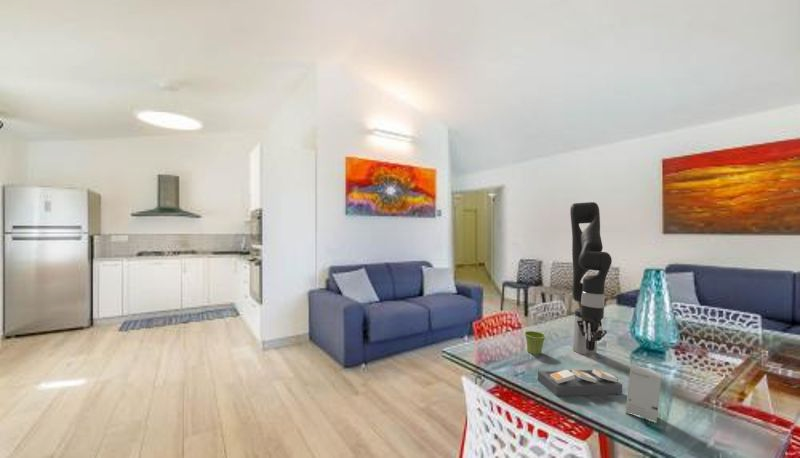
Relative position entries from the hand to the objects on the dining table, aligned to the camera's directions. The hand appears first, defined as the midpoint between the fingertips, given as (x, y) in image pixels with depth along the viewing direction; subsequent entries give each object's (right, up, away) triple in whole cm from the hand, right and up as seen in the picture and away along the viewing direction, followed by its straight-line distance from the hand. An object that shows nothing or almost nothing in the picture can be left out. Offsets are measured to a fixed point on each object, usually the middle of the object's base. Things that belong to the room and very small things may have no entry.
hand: (589, 349), depth 124 cm
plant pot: (-7, -14, +33) cm, 37 cm away
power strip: (-1, -14, +1) cm, 14 cm away
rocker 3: (+5, -10, -1) cm, 11 cm away
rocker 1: (-12, -9, -3) cm, 15 cm away
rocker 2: (-4, -9, -2) cm, 10 cm away
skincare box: (+7, -15, -17) cm, 24 cm away
